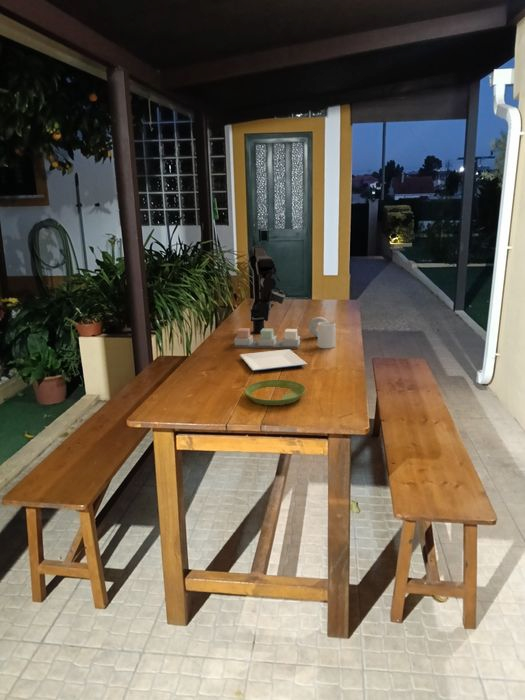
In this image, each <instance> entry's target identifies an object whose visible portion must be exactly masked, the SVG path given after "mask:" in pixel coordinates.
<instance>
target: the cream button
mask: <svg viewBox="0 0 525 700" xmlns="http://www.w3.org/2000/svg"><path fill="white" fill-rule="evenodd" d="M284 336H285V339H294V340H296V339H297V336H298V328H285V330H284Z"/></svg>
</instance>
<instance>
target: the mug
mask: <svg viewBox="0 0 525 700" xmlns="http://www.w3.org/2000/svg"><path fill="white" fill-rule="evenodd" d="M317 330H318V337H317V347H318V348H321V349H332V348H333V349H334V348H335V347H336V322H334V321H328V320H327V321H325V322H319V323H318V324H317Z"/></svg>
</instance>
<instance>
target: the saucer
mask: <svg viewBox="0 0 525 700" xmlns="http://www.w3.org/2000/svg"><path fill="white" fill-rule="evenodd" d="M266 387H280V388H287V389H291V391H293V392H291V391H290V392H291V393H288V394H287V392H286V394H285V395H284V396H283V395H282V396H283V397H282V399H281V400H264V399H258V398H254V397H251V396H252V394H253V392H254V391H256V390H258V389H261V388H266ZM305 392H306V386H304V385H303V384H302V383H301V382H297V381H294V380H287V379H270V380H269V379H268V380H262V381H257V382H254V383H251V384H249V385H248V386H247V387H246V388H244V393H245V395H246V396H247V398H249V399H250V400H251V401H252V402H254V403H255V404H258V403H259V404H258V405H261V404H265V405H264V406H267V405H280V406H286V405H285V404H287V405H290V404H293V403H295V402H297V401H298V400H299V399H300V398H301V399H302V397H303V396H304V394H305ZM292 402H293V403H292ZM289 403H290V404H289Z"/></svg>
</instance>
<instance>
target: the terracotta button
mask: <svg viewBox="0 0 525 700" xmlns="http://www.w3.org/2000/svg"><path fill="white" fill-rule="evenodd" d="M250 335H251V328H250V327H249V328H248V327H238V329H237V330H236V337H237V338H246V339H248V338H249V337H250Z"/></svg>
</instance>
